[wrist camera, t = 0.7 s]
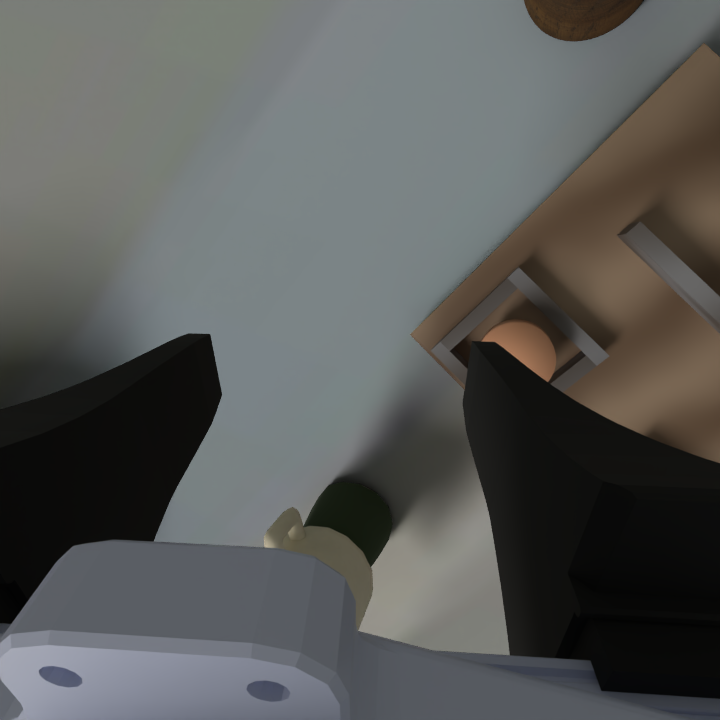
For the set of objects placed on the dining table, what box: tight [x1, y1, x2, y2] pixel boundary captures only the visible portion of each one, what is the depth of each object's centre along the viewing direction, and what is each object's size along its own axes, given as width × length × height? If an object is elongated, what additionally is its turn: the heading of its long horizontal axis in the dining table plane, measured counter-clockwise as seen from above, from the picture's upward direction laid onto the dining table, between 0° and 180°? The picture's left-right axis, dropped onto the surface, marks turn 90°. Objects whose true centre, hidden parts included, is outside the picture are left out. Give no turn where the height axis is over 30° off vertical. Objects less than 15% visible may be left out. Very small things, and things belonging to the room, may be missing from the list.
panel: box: [410, 43, 720, 463], centre depth 24 cm, size 19×20×4 cm
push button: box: [481, 319, 556, 382], centre depth 24 cm, size 4×4×2 cm
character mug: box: [264, 482, 393, 630], centre depth 29 cm, size 11×7×13 cm, turn 15°
